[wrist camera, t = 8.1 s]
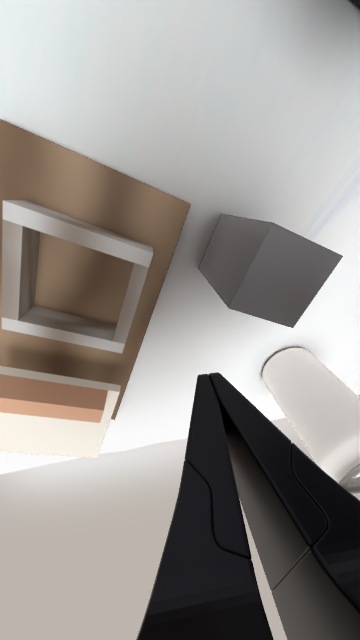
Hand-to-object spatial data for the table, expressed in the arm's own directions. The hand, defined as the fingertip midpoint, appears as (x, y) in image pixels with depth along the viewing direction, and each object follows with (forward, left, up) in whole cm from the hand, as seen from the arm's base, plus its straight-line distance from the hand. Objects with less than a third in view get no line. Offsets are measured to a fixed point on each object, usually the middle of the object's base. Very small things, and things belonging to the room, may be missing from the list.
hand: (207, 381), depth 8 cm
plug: (-4, -4, -12) cm, 13 cm away
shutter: (+7, +14, -8) cm, 18 cm away
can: (-17, +6, -12) cm, 22 cm away
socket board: (+7, +6, -12) cm, 15 cm away
